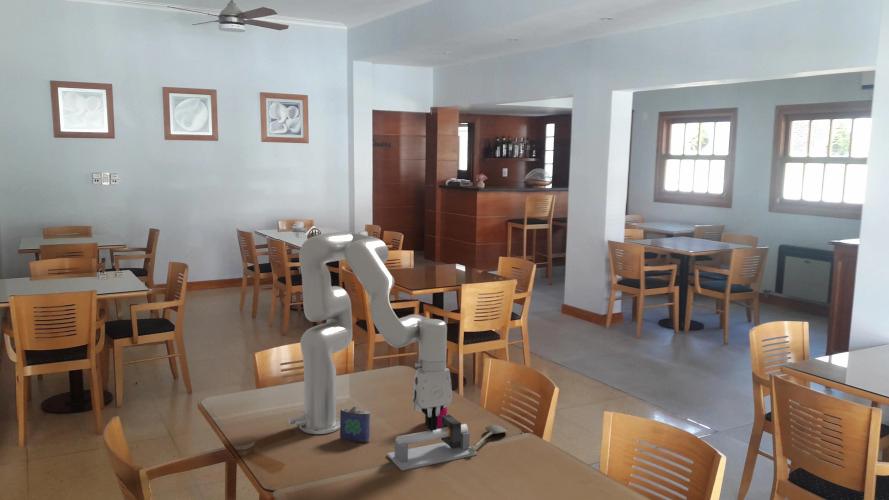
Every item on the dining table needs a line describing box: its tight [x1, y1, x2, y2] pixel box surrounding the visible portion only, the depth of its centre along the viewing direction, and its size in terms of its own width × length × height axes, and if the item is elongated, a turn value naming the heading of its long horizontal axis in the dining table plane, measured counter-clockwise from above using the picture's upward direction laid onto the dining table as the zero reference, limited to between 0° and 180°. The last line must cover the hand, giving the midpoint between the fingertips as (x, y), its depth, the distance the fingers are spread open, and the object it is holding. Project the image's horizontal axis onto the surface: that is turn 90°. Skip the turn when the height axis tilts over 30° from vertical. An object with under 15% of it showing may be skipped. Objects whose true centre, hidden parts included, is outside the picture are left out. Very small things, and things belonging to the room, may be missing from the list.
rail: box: [386, 423, 478, 471], centre depth 187 cm, size 23×10×7 cm, turn 117°
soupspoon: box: [468, 424, 508, 453], centre depth 197 cm, size 22×3×7 cm
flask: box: [339, 404, 371, 444], centre depth 197 cm, size 9×3×11 cm, turn 74°
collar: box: [440, 414, 462, 449], centre depth 190 cm, size 2×7×7 cm, turn 27°
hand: (431, 428), depth 187 cm, fingers closed
